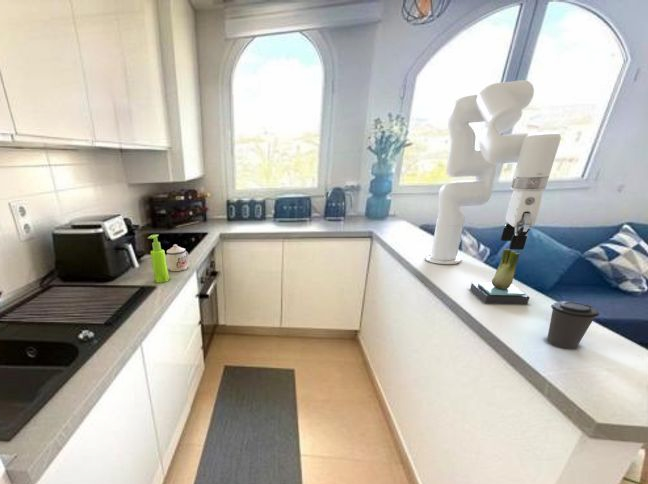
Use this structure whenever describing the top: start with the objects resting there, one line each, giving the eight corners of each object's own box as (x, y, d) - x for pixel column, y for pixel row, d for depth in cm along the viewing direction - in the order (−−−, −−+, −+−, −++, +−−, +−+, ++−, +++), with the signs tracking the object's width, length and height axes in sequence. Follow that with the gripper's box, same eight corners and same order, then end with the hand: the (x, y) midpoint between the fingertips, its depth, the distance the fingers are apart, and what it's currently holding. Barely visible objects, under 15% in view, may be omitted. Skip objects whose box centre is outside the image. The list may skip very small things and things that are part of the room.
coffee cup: (594, 347, 80) (611, 308, 76) (569, 354, 78) (584, 315, 74) (555, 332, 87) (568, 296, 83) (531, 339, 85) (543, 302, 81)
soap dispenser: (151, 283, 148) (143, 236, 140) (160, 277, 154) (152, 233, 145) (163, 283, 146) (155, 236, 138) (171, 278, 152) (164, 233, 143)
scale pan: (477, 284, 112) (478, 282, 112) (509, 284, 110) (510, 282, 110) (490, 295, 104) (490, 293, 104) (525, 295, 102) (525, 293, 102)
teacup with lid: (178, 272, 159) (175, 247, 154) (165, 270, 164) (161, 246, 159) (195, 265, 167) (192, 241, 163) (182, 263, 173) (179, 240, 168)
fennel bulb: (511, 291, 104) (523, 252, 99) (491, 290, 106) (502, 252, 101) (508, 285, 108) (519, 248, 103) (489, 284, 110) (498, 247, 105)
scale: (470, 289, 116) (471, 281, 114) (508, 290, 113) (510, 282, 112) (484, 303, 105) (487, 294, 104) (527, 304, 102) (530, 295, 101)
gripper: (558, 187, 86) (536, 253, 93) (535, 179, 100) (518, 237, 107) (521, 188, 89) (503, 252, 96) (504, 180, 103) (489, 237, 110)
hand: (511, 244), depth 102 cm, fingers open, 9 cm apart
